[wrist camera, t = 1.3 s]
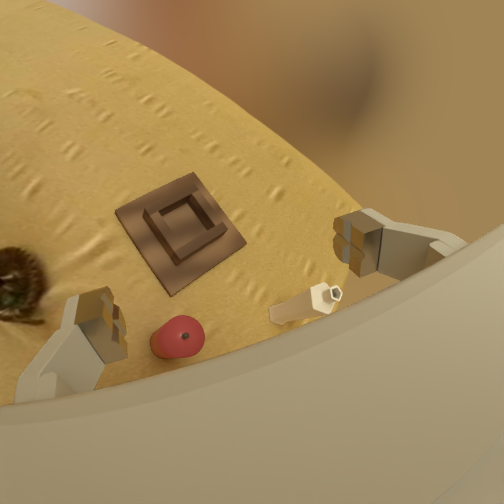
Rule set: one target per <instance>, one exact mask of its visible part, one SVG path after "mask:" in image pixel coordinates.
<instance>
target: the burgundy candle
mask: <svg viewBox="0 0 504 504" xmlns="http://www.w3.org/2000/svg"><path fill="white" fill-rule="evenodd" d="M204 341H205V334H204V330H203V328H202V326H201V325H200V323H199V322H198V321H197V320H195V319H194V318H192V317H190V316H185V315H180V316H176V317H174V318H172V319H171V320H169V321H168V322H167V323H166V324H164V325H163V326H162V327H161V328H159V329H158V330H157V331H155V332H154V333H153V335H152V336H151V339H150V347H151V350H152V352H153V353H154V354H155V355H156V356H158V357H160V358H163V359H170V358H185V357H191V356H194V355H196V354H197V353H198V352H199V351H200V350H201V349H202V347H203V345H204Z"/></svg>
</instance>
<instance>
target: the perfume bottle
mask: <svg viewBox="0 0 504 504" xmlns="http://www.w3.org/2000/svg"><path fill="white" fill-rule="evenodd" d="M342 294H343V293H342V291H341V290H340V288H339V287H338V286H337V285H335V286H333V287H331V288H329V286H328V285H327V284H326V282H323V283H321V284H318V285H316V286H313V287H311V288H309V289H307V290H305V291H304V292H302V293H300V294H298V295H296V296H295V297H293V298H291V299H289V300H287V301H285V302H284V303H279V304H276V305H273V306H271V307H269V314H270V321H271V322H273V323H276V324H279V325H284V324H285V323H286V322H288V321H294V320H301V319H306V318H312V317H318V316H323V315H328V314H330V313H331V311H332V308H333V306H334V303H335V301H340V299H341V297H342Z"/></svg>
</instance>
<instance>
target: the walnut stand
mask: <svg viewBox="0 0 504 504" xmlns="http://www.w3.org/2000/svg"><path fill="white" fill-rule="evenodd" d="M115 214H116V216H117V217H118V219H119V221H120V222H121V224H122V226H123V227H124V229H125V230H126V232H127V233H128V235H129V237H130V238H131V240H132V241H133V243H134V244H135V246H136V247H137V249H138V251H139V252H140V254H141V255H142V257H143V258H144V260H145V261H146V263H147V264H148V265H149V267H150V268H151V270H152V271H153V273H154V274H155V276H156V277H157V279H158V280H159V281H160V283H161V284H162V286H163V287H164V289H165V290H166V291H167V293H168V294H169V295H170V297H171V296H173V295H174V294H175V293H177V292H178V291H180V290H181V289H183V288H184V287H185V286H187V285H188V284H190V283H191V282H193V281H194V280H195V279H197V278H198V277H200V276H201V275H203V274H204V273H205V272H207V271H208V270H210V269H211V268H213V267H214V266H216V265H217V264H218V263H220V262H221V261H223V260H224V259H226V258H227V257H228V256H230V255H231V254H233V253H234V252H236V251H237V250H239V249H240V248H241V247H243V246H244V245H246V244H247V242H246V241H245V240H244V238H243V237H242V236H241V234H240V233H239V232H238V230H237V229H236V228H235V226H234V225H233V224H232V222H231V221H230V220H229V218H228V217H227V216H226V214H225V213H224V212H223V210H222V209H221V208H220V206H219V205H218V204H217V202H216V201H215V200H214V198H213V197H212V196H211V194H210V193H209V192H208V190H207V189H206V188H205V186H204V185H203V184H202V182H201V181H200V180H199V178H198V177H197V176H196V174H195V173H194V172H192V173H190V174H188V175H185V176H183V177H181V178H179V179H177V180H175V181H172V182H170V183H168V184H166V185H164V186H162V187H160V188H158V189H156V190H154V191H152V192H149V193H147V194H145V195H143V196H141V197H139V198H138V199H136V200H134V201H132V202H130V203H128V204H126V205H124V206H122V207H120V208H118V209H116V210H115Z"/></svg>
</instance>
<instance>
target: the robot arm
mask: <svg viewBox="0 0 504 504" xmlns="http://www.w3.org/2000/svg"><path fill="white" fill-rule="evenodd" d="M333 229H334V230H335V232H336V235H335V237H334V239H333V248H334V252H335V254H336V256H337V258H338V259H339V260H340V261H341V262H343V263H347V264H349V269H350V270H352V271H353V272H354V273H355V274H356V275H357V276H358V277H359V278H360V277H363V276H366V275H368V274H371V273H374V272H376V271H378V272H379V273H382V274H384V275H387V276H390V277H392V278H395V279H397V280H400V282H398V283H396V284H394V285H392V286H390V287H388V288H386V289H384V290H381V291H379V292H377V293H375V294H373V295H371V296H369V297H367V298H365V299H362V300H360V301H358V302H356V303H353V304H351V305H349V306H347V307H344V308H342V309H340V310H338V311H335V312H333V313H331V314H328V315H326V316H324V317H321V318H319V319H317V320H314V321H312V322H309V323H307V324H304V325H302V326H300V327H297V328H295V329H292V330H289V331H287V332H284V333H282V334H279V335H276V336H274V337H271V338H268V339H266V340H263V341H260V342H258V343H255V344H252V345H249V346H246V347H244V348H241V349H238V350H235V351H232V352H229V353H226V354H223V355H220V356H217V357H214V358H211V359H208V360H205V361H201V362H198V363H195V364H192V365H188V366H185V367H182V368H178V369H175V370H171V371H168V372H164V373H161V374H157V375H154V376H150V377H146V378H142V379H138V380H135V381H131V382H127V383H122V384H118V385H114V386H110V387H105V388H101V389H96V390H94V388H95V386H96V384H97V382H98V380H99V378H100V376H101V374H102V372H103V370H104V368H105V364H108V363H111V362H115V361H118V360H122V359H125V358H128V354H127V342H126V340H125V339H124V336H125V335H126V324H125V320H124V317H123V314H122V312H121V310H120V308H119V306H117V305H115V304H113V301H114V296H113V294H112V292H111V290H110V288H108V287H107V286H106V287H102V288H99V289H95V290H92V291H88V292H85V293H82V294H78V295H75V296H72V297H69V298H68V299H67V300H66V305H65V309H64V313H63V317H62V322H61V326H60V329H59V330H56V331H55V332H54V334H53V335H52V336H51V337H50V338H49V340H48V341H47V342H46V343H45V345H44V346H43V347H42V348H41V349H40V351H39V352H38V353H37V355H36V356H35V357H34V358H33V360H32V361H31V362H30V363H29V365H28V366H27V367H26V369H25V370H24V371H23V373H22V374H21V375H20V377H19V378H18V382H17V387H16V393H15V398H14V404H8V405H0V504H504V223H502V224H501V225H499V226H498V227H496V228H494V229H493V230H491V231H490V232H488V233H486V234H485V235H483V236H482V237H480V238H478V239H477V240H475V241H473V242H471V243H470V244H468V243H467V242H465V241H463V240H462V239H460V238H459V237H457V236H455V235H454V234H452V233H449V232H445V231H440V230H435V229H430V228H426V227H421V226H416V225H410V224H406V223H400V222H397V223H395V222H393V221H392V220H390V219H388V218H386V217H385V216H383V215H381V214H380V213H378V212H376V211H374V210H373V209H371V208H364V209H361V210H358V211H355V212H352V213H349V214H346V215H343V216H340V217H337V218H335V219H334V222H333Z"/></svg>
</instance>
